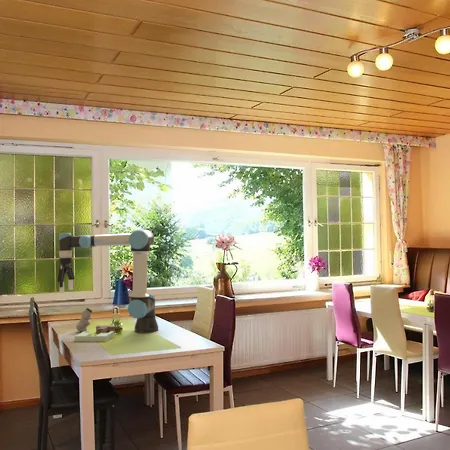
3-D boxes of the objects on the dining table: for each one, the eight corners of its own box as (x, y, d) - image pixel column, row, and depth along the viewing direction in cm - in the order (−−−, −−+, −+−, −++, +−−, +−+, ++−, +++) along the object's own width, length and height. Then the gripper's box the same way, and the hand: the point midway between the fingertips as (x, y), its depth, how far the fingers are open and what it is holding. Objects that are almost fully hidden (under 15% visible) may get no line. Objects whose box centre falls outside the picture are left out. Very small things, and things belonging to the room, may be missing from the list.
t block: (116, 331, 337) (116, 325, 337) (110, 335, 325) (110, 328, 325) (98, 331, 338) (98, 325, 338) (91, 335, 326) (91, 328, 327)
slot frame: (114, 336, 322) (114, 331, 322) (105, 341, 307) (105, 336, 307) (84, 336, 324) (84, 331, 324) (74, 341, 310) (74, 336, 310)
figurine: (88, 333, 334) (87, 309, 334) (73, 332, 336) (73, 309, 336) (94, 330, 343) (94, 307, 343) (80, 330, 345) (79, 307, 345)
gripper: (68, 256, 345) (68, 288, 345) (51, 258, 321) (52, 293, 320) (79, 256, 344) (79, 288, 344) (63, 258, 320) (63, 293, 319)
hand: (66, 291), depth 332 cm, fingers open, 13 cm apart
